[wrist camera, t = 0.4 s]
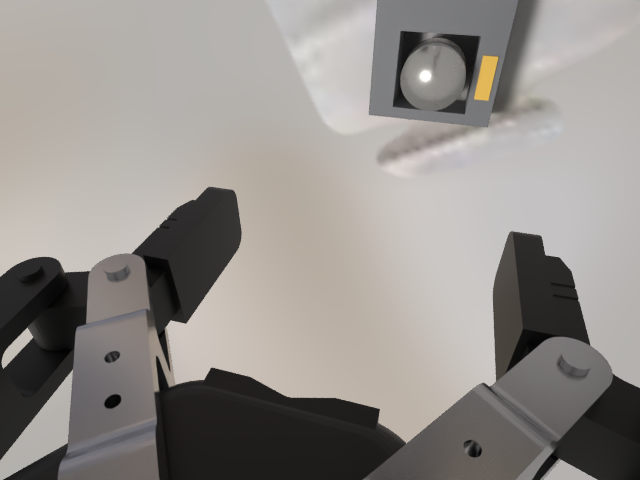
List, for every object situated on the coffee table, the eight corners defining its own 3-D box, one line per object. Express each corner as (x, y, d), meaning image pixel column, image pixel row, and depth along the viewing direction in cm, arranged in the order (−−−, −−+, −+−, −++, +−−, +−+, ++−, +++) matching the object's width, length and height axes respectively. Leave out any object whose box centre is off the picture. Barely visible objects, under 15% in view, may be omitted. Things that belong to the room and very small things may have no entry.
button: (408, 35, 32) (404, 43, 30) (471, 39, 31) (471, 48, 29) (401, 96, 34) (397, 107, 32) (459, 101, 34) (458, 114, 31)
